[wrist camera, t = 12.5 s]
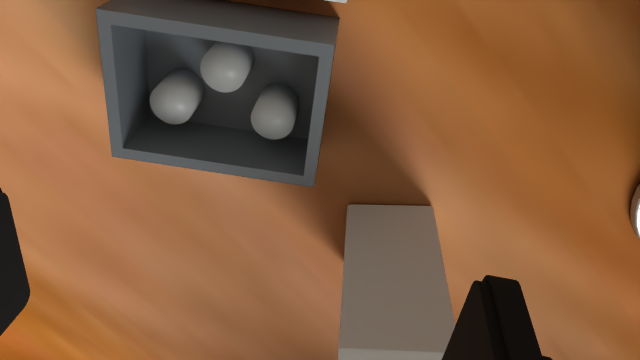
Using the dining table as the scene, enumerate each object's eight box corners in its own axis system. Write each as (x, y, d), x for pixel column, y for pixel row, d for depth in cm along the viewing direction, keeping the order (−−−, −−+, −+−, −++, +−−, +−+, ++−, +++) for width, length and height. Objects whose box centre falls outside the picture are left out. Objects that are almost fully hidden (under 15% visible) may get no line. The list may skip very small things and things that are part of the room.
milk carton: (347, 202, 42) (334, 410, 26) (433, 204, 42) (473, 418, 26) (347, 266, 46) (336, 481, 30) (426, 268, 46) (457, 489, 30)
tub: (339, 17, 34) (334, 45, 29) (320, 145, 40) (313, 187, 35) (135, -14, 34) (95, 8, 29) (144, 118, 40) (111, 156, 35)
